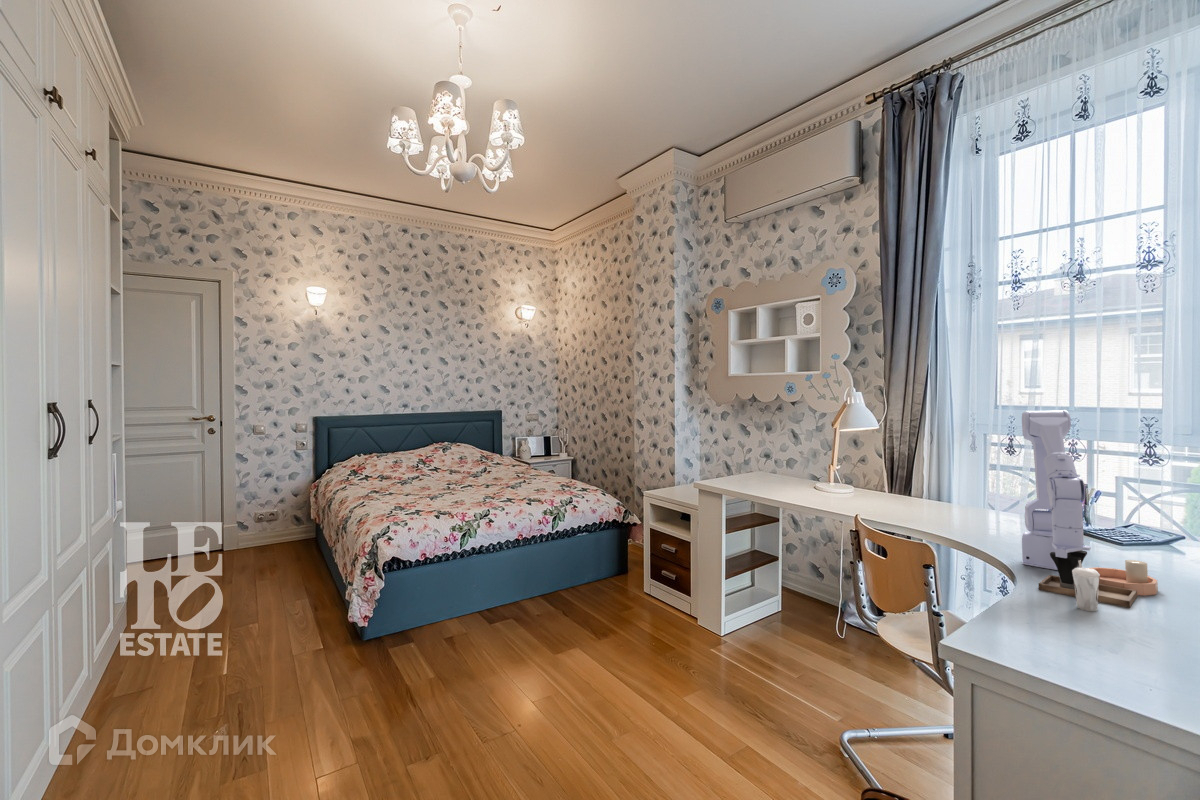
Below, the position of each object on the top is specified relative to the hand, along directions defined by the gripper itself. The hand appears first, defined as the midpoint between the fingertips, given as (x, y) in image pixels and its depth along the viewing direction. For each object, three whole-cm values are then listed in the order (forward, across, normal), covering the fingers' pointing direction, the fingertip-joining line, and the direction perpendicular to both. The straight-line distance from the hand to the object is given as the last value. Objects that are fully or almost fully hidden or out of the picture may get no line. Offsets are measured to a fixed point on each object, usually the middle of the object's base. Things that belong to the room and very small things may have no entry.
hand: (1069, 581), depth 128 cm
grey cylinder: (+2, 0, 0) cm, 2 cm away
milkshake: (+2, -12, -5) cm, 13 cm away
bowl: (+2, +12, -7) cm, 14 cm away
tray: (+2, 0, -3) cm, 4 cm away
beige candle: (+2, +12, -10) cm, 16 cm away
